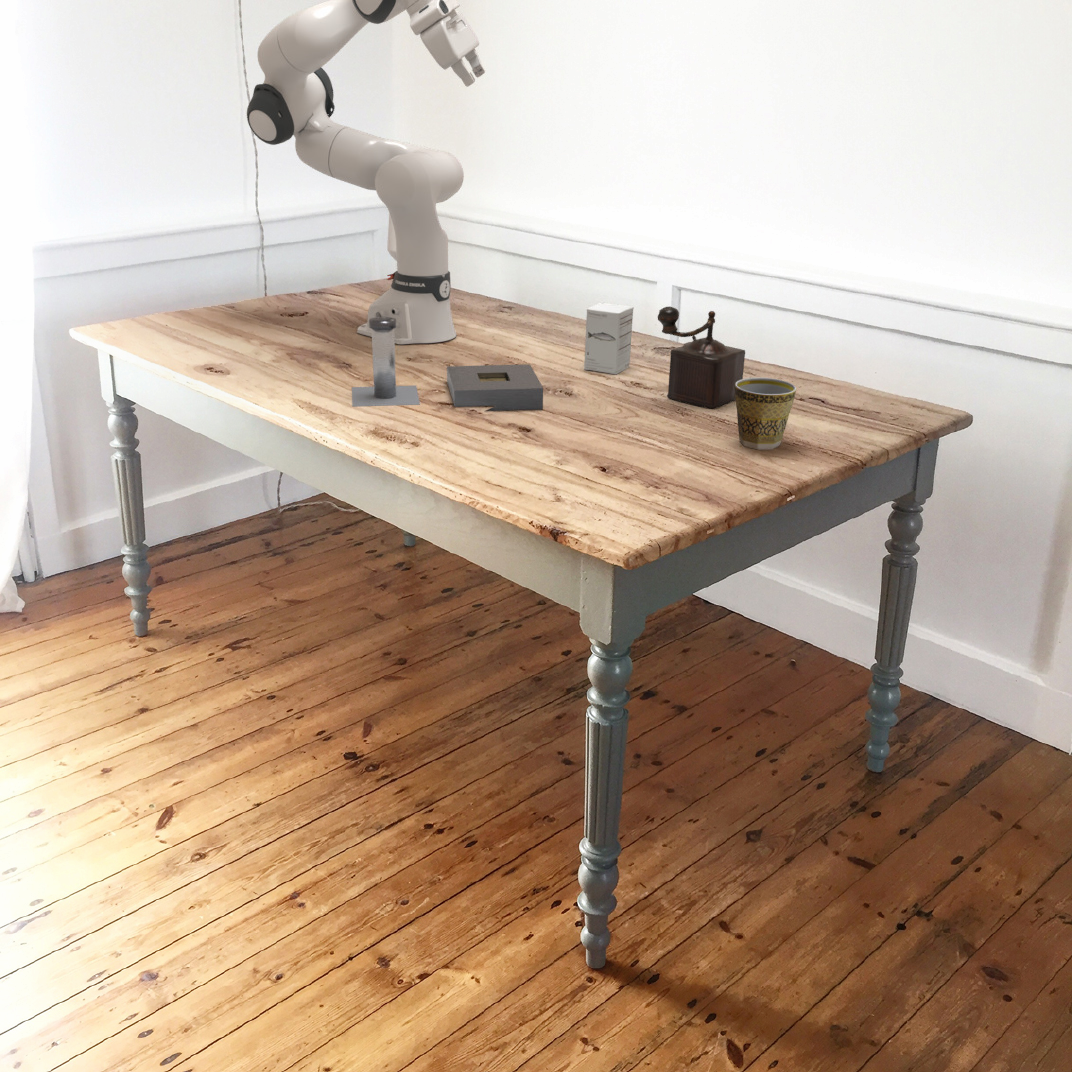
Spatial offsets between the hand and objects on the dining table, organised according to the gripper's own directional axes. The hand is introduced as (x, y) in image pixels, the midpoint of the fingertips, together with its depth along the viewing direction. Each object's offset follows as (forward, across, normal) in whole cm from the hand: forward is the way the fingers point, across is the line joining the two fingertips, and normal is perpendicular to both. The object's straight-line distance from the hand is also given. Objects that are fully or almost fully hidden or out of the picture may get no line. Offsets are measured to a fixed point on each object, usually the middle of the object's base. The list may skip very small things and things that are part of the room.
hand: (476, 79), depth 215 cm
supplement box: (+60, +7, -6) cm, 61 cm away
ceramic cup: (+71, +46, +22) cm, 87 cm away
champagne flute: (+35, -42, -57) cm, 79 cm away
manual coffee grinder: (+68, +25, +11) cm, 73 cm away
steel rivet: (+35, +38, -35) cm, 62 cm away
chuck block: (+47, +32, -20) cm, 60 cm away
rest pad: (+36, +38, -36) cm, 63 cm away
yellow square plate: (+45, +31, -19) cm, 58 cm away
